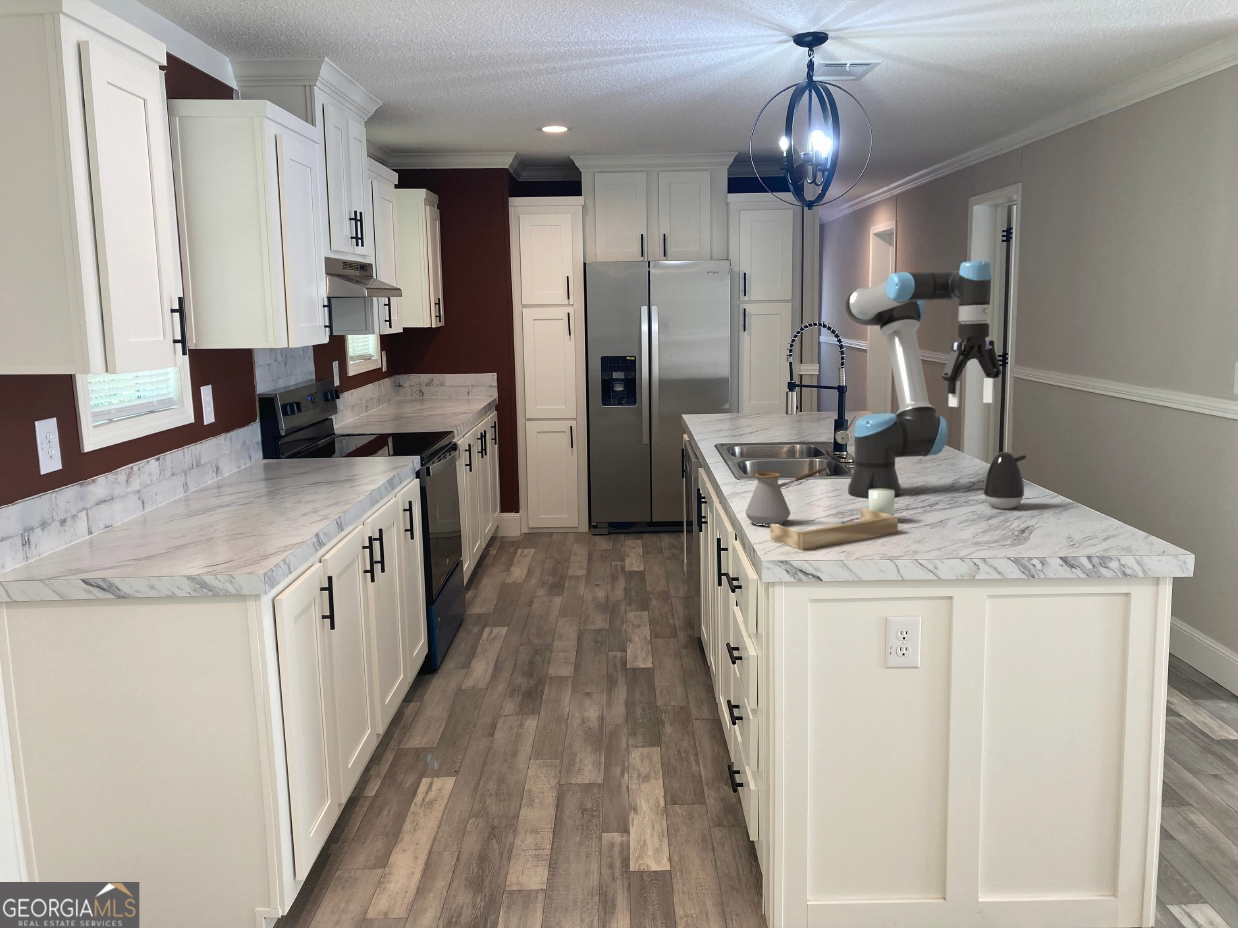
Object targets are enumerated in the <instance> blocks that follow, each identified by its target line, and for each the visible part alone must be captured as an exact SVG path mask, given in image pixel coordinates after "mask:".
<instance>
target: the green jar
mask: <svg viewBox="0 0 1238 928" xmlns="http://www.w3.org/2000/svg"><path fill="white" fill-rule="evenodd" d="M894 496H895V491H894V490H892V489H883V488H878V489H870V490H869V498H868V509H867V510H871V511H876V512H880V513H884V514H889V515H893V516H895V497H896V496H895V497H894Z"/></svg>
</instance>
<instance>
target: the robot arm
mask: <svg viewBox="0 0 1238 928" xmlns="http://www.w3.org/2000/svg"><path fill="white" fill-rule="evenodd" d="M991 290H992V264H991V262H989V260H988V261H987V260H977V261H976V260H975V261H963V262H962V263H961V264H960V267H959V270H953V271H952V270H950V271H926V272H925V271H924V272H923V271H922V272H919V271H918V272H915V271H914V272H913V271H912V272H911V271H909V272H907V271H901V272H900V271H899V272H893V273H891V274H890V275H889V276H888V278H887V281H884V282H882V283H879V284H876V285H874V286H871V287H867V286H865V287H864V286H863V287H859V288H857V289H854V290H853V291H851V292H850V293H849V295H848V296H847V297H846V300H845V304H844V310H845V312H846V314H847V316H848V318H849V319H850V320H851V321H853V322H854V323H856V324H859V325H861V326H868V327H870V326H872V327H873V326H877V327H878V326H879V330H880V334H881V335H882V336H884V337H886V339H887V345H888V350H889V351H888V352H889V358H890V363H891V368H892V374H893V379H894V385H895V386H894V387H895V391H896V397H897V402H898V408H899V409H898V411H897V412H895V413H891V412H890V413H888V412H887V413H886V412H885V413H874V414H869V415H865V416H861V417H859V418H858V419H857V420H856V421H855V423H854V424H855V425H854V433H853V436H854V463H853V464H854V467H853V471H852V475H851V478H850V482H849V483H848V486H847V493H848V494H849V495H850V496H854V497H859V498H868V499H869V490H870V489H878V488H883V489H892V490H894V491H895V496H894V498H895V497H899V496H900V495H902V485H901V484H900V482H899V477H898V473H897V470H896V458H911V457H912V458H913V457H916V458H917V457H924V458H925V457H930V456H936V455H939V454H940V453H941V452H942V451H943V450H944V448H945V446H946V443H947V440H948V433H949V429H948V423H947V420H946V419H945V417H944V416H942V415H938V414H937V409H936V407H935V406H933V405H931V404H930V401H929V397H928V391H927V385H926V380H925V374H924V369H923V364H922V363H923V362H922V358H921V357H922V356H921V353H920V348H919V347H920V346H919V342H918V341H919V340H918V337H917V331H918V329H919V328H920V323H922V321H923V320H924V317H925V301H926V302H928V301H930V302H931V301H958V315H957V316H958V317H957V320H958V322H960V323H959V324H958V326H957V337H958V338H959V339H960V341H957V342H956V341H953V342H951V348H950V352H949V356H948V358H947V362H946V364H945V366H944V370H943V372H942V375H941V378H942V380H944V381H945V382H947V393H948V407H951V408H952V407H953V408H959V407H960V385H961V384H960V382H961V381H959V380H958V379H959V378H960V376H961V374H962V373H963V371H964V369H965V368H966V365H967V364H968V362H970V361H971V360H976V361H977V362H978V364H979V366H980V367H981V370H982V371H983V373H984V375H985V377H984V378H983V391H982V393H983V394H982V395H983V396H982V403H984V404H987V403H988V404H994V402H995V389H996V379H999V377H1000V376H1001V375H1002V369H1001V367H1000V366H1001V365H1000V363H999V359H998V356H997V353H996V349H995V341H994V340H990V339H989V340H987V339H986V338H989V337H990V323H988V322H989V321H990V314H991V313H990V312H991V311H990V308H991V307H990V305H991V294H992V292H991Z"/></svg>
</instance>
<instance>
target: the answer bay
mask: <svg viewBox="0 0 1238 928" xmlns="http://www.w3.org/2000/svg"><path fill="white" fill-rule="evenodd" d="M898 520H899V517H898V516H897V515H894V516H893V515H889V514H884V513H880V512H876V511H871V510H868V509H866V508H861V509H860V520H859V521H853V522H847V523H843V524H842V523H841V524H836V525H830V526H825V527H818V528H812V529H807V530H797V529H793V528H791V527H787V526H784V525H776V524H770V526H769V528H770V530H769V531H770V539H772V540H775V541H778V542H781V543H784V544H787V545H790V546H792V547H791V548H793V547H795V548H794V549H797V548H798V549H797V550H800V549H801V550H800V551H806V550H805V549H807V550H810V549H816V547H817V548H822V547H827V546H833V545H838V544H843V543H849V542H854V541H859V540H864V539H869V538H877V537H880V536H881V537H882V536H884V535H885V536H888V535H891V534H892V535H893V534H897V533H898V526H899V525H898V523H899V522H898ZM787 545H786V546H787ZM790 546H789V547H790Z"/></svg>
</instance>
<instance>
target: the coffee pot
mask: <svg viewBox="0 0 1238 928" xmlns="http://www.w3.org/2000/svg"><path fill="white" fill-rule="evenodd" d="M824 471H827V473H828V475H830V471H829V468H828V466H823V467H821V468H817V469H816V470H812V471H808V472H806V473H804V474H801V475H800V476H797V477H795V478H793V479H790V480H787V481H785V482H782V483H778V482H779V479H780V477H781V474H780V473H778V472H757V473H755V475H754V476H755V477H756V479H757V482H756V483H757V484H756V485H755V488H754V490H753V492H752V495H751V497H750V500H749V502H748V504H747V506H746V510H745V515H746V518H747V519H748V520H749V521H751V522H752V523H753V522H754V523H756V524H762V525H763V524H765V525H770V524H781V523H782V522H783V523H784V522H786V521H787V520H788V519H789V518H790V516H791V511H790V508H789V506H788V504H787V501H786V499H785V496H784V494H783V491H782V489H781V488H783V487H786V486H788V485H790V484H791V485H792V484H793V483H795V482H799V481H802V480H805V479H807V478H810V477H812V476H815V475H817V474H821V472H824ZM781 525H782V524H781Z"/></svg>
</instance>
